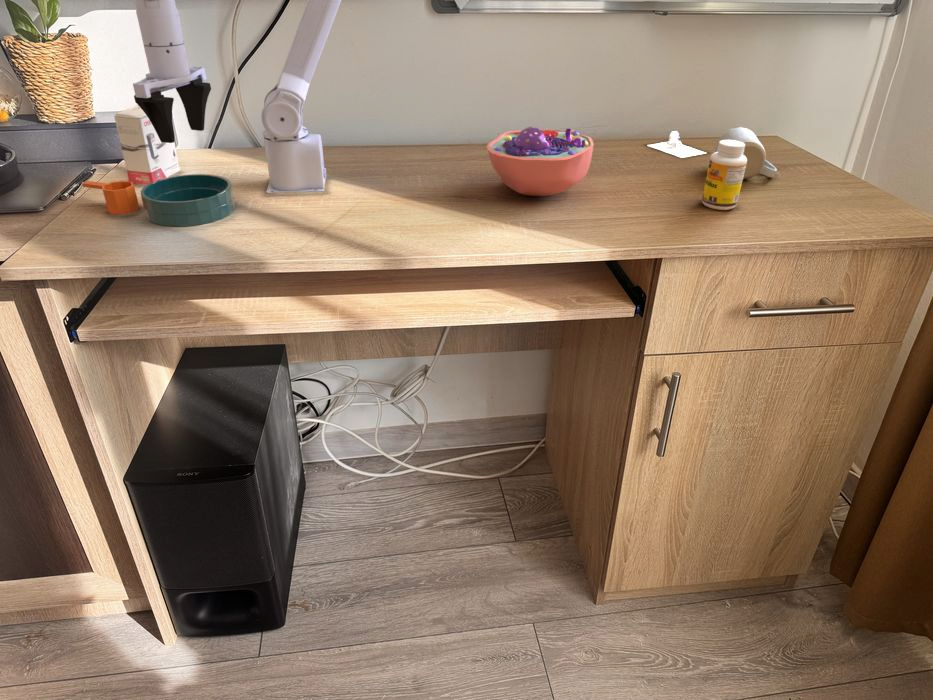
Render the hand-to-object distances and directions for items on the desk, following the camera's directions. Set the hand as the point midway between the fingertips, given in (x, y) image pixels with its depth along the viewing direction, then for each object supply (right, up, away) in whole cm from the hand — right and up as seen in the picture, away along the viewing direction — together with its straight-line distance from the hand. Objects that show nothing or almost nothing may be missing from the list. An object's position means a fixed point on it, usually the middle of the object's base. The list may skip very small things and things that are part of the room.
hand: (183, 135), depth 109 cm
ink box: (-9, -4, +11) cm, 15 cm away
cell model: (+58, -7, +8) cm, 59 cm away
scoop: (-10, -12, -2) cm, 16 cm away
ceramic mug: (+97, -2, +17) cm, 98 cm away
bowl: (+3, -13, -3) cm, 14 cm away
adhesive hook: (+89, +7, +31) cm, 94 cm away
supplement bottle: (+87, -11, +3) cm, 88 cm away
